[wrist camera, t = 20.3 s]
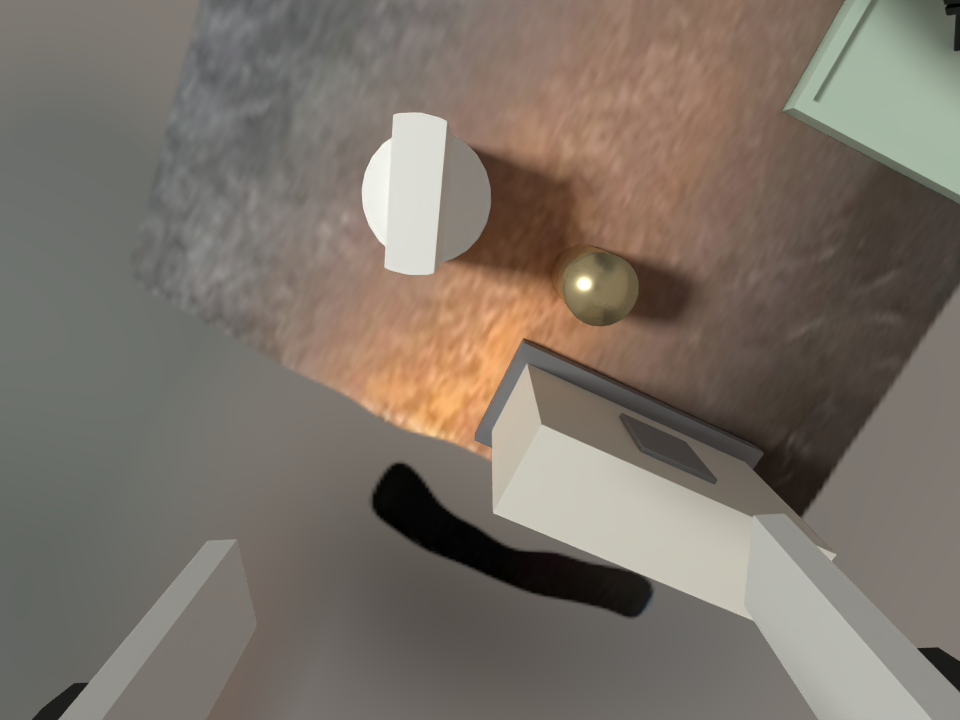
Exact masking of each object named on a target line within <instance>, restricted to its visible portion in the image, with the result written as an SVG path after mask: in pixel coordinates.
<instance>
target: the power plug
mask: <svg viewBox="0 0 960 720" xmlns="http://www.w3.org/2000/svg"><path fill="white" fill-rule="evenodd" d="M943 2H944V5H947V6H946V7H945V12H946V15H947V16H950V15H955V34H954V51H960V0H943Z"/></svg>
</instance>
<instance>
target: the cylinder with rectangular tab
mask: <svg viewBox="0 0 960 720" xmlns="http://www.w3.org/2000/svg"><path fill="white" fill-rule="evenodd" d="M362 199H363V209H364V212H365V215H366V218H367V221H368V224H369V226H370V228H371V229H372V231H373V232H374V234H375V235H376V237H377V239H378V240H379V241H380V242H381V243H382V244H383V245H384V246H385V247H386V249H385V266H384V267H385V268H387V269H389V270H391V271H395V272H399V273H403V274H407V275H429V274H432V273H434V272H435V271H436V270H437V268H438V267H439V266H440V264H441V263H442V262H444V261H448V260H451V259H454V258H455V257H457V256H459V255H460V254H462V253H464V252H465V251H467V250H468V249H469V248H470V247H471V246H472V245H473V244H474V243H475V242H476V240H477V239H478V238H479V237H480V235H481V233H482V231H483V229H484V227H485V226H486V224H487V220H488V216H489V212H490V208H491V187H490V183H489V180H488V176H487V172H486V170H485V168H484V166H483V164H482V162H481V161H480V159H479V157H478V155H477V154H476V153H475V152H474V151H473V150H472V149H471V148H470V147H469V146H468V145H467V144H466V143H465V142H464V141H462V140H461V139H459V138H457V137H456V136H454V134H453V132H452V130H451V128H450V126H449V124H448V122H447V121H445V120H443V119H442V118H439V117H435V116H431V115H428V114H424V113H398V114H395V115H393V130H392V138H391V139H389V140H388V141H386V142H385V143H383V145H382V146H381V147H380V148H379V149H378V151H377V152H376V153H375V154H374V155H373V157H372V158H371V161H370V163H369V165H368V167H367V169H366V172H365V175H364V181H363V187H362Z"/></svg>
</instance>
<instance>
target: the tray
mask: <svg viewBox="0 0 960 720" xmlns="http://www.w3.org/2000/svg"><path fill="white" fill-rule="evenodd" d="M946 6H947V5H944V2H943V0H845V1H844V3H843V5H842V7H841V8H840V10H839V12H838V14H837V15H836V17H835V19H834V21H833V22H832V24H831V26H830V28H829V29H828V31H827V33H826V35H825V36H824V38H823V40H822V42H821V44H820V45H819V47H818V49H817V51H816V52H815V54H814V56H813V58H812V59H811V61H810V63H809V65H808V66H807V68H806V70H805V72H804V73H803V75H802V77H801V79H800V81H799V82H798V84H797V86H796V88H795V89H794V91H793V93H792V95H791V96H790V98H789V100H788V102H787V103H786V105H785V107H784V109H783V110H782V111H783V112H784V113H786V114H788V115H790V116H792V117H794V118H796V119H798V120H800V121H802V122H804V123H805V124H807V125H809V126H811V127H813V128H815V129H817V130H819V131H821V132H823V133H825V134H826V135H828V136H830V137H832V138H834V139H836V140H838V141H840V142H842V143H844V144H846V145H848V146H849V147H851V148H853V149H855V150H857V151H859V152H861V153H863V154H865V155H867V156H869V157H870V158H872V159H874V160H876V161H878V162H880V163H882V164H884V165H886V166H888V167H890V168H891V169H893V170H895V171H897V172H899V173H901V174H903V175H905V176H907V177H909V178H911V179H912V180H914V181H916V182H918V183H920V184H922V185H924V186H926V187H928V188H930V189H932V190H934V191H935V192H937V193H939V194H941V195H943V196H945V197H947V198H949V199H951V200H953V201H955V202H956V203H958V204H960V51H954V34H955V15H950V16H947V15H946V12H945V7H946Z"/></svg>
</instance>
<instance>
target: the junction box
mask: <svg viewBox="0 0 960 720" xmlns="http://www.w3.org/2000/svg"><path fill="white" fill-rule="evenodd" d="M475 441H478V442H480V443H482V444H485V445H487V446H489V447H491V448H492V474H493V475H492V478H493V479H492V480H493V513H494V514H497V515H499V516H502V517H504V518H506V519H509V520H512V521H514V522H516V523H519V524H521V525H524V526H526V527H528V528H531V529H533V530H535V531H538V532H540V533H543V534H545V535H548V536H550V537H552V538H555V539H557V540H560V541H562V542H564V543H567V544H569V545H572V546H574V547H577V548H579V549H581V550H584V551H586V552H589V553H591V554H593V555H596V556H598V557H601V558H603V559H606V560H608V561H610V562H613V563H615V564H618V565H620V566H622V567H625V568H627V569H630V570H632V571H635V572H637V573H639V574H642V575H644V576H647V577H649V578H651V579H654V580H656V581H659V582H661V583H664V584H666V585H668V586H671V587H673V588H676V589H678V590H680V591H683V592H685V593H688V594H690V595H693V596H695V597H697V598H700V599H702V600H705V601H707V602H709V603H712V604H714V605H717V606H719V607H721V608H724V609H727V610H729V611H731V612H734V613H736V614H738V615H741V616H743V617H746V618H748V619H751V620H753V618H752V617H751V615H750V614H749V612H748V611H747V609H746V608H745V606H744V599H745V590H746V580H747V571H748V562H749V553H750V543H751V534H752V525H753V516H754V515H764V514H786V515H787V516H788V517H789V518H790V519H791V521H792V522H793V523H794V524H795V525H796V526H797V527H798V528H799V529H800V530H801V531H802V532H803V533H804V534H805V535H806V536H807V537H808V538H809V539H810V540H811V541H812V542H813V543H814V544H815V545H816V546H817V547H818V548H819V549H820V550H821V551H822V552H823V553H824V554H825V555H826V556H827V557H828V558H829V559H830V560H831V561H832V560H833V558H834V557H835V556H836V553H835V552H834V551H833V550H832V549H831V548H830V547H829V546H828V545H827V544H826V543H825V542H824V541H822V539H821V538H820V537H819V536H818V535H817V534H816V533H815V532H814V531H813V530H812V529H811V528H810V527H809V526H808V525H807V524H806V523H805V522H804V521H803V520H802V519H801V518H800V517H799V516H798V515H797V514H796V513H795V512H794V511H793V510H792V509H791V508H790V507H789V506H788V505H787V504H786V503H785V502H784V501H783V500H782V499H781V498H780V497H779V496H778V495H777V494H776V493H775V492H774V491H773V490H772V489H771V488H770V487H769V486H768V485H767V484H766V483H765V482H764V481H763V480H762V479H761V478H760V477H759V476H758V475H757V474H756V473H755V472H754V471H753V468H754V467H755V466H756V464H757V463H758V461H759V460H760V459H761V457H762V456H763V454H764V452H763V451H761V450H760V449H759V448H758V447H757V446H756V445H754V444H752V443H749V442H747V441H745V440H743V439H741V438H739V437H736V436H734V435H732V434H730V433H728V432H725V431H723V430H721V429H719V428H717V427H715V426H712V425H710V424H708V423H706V422H704V421H702V420H699V419H697V418H695V417H693V416H691V415H688V414H686V413H684V412H682V411H680V410H678V409H675V408H673V407H671V406H669V405H667V404H665V403H662V402H660V401H658V400H656V399H654V398H652V397H649V396H647V395H645V394H643V393H641V392H638V391H636V390H634V389H632V388H630V387H628V386H625V385H623V384H621V383H619V382H617V381H615V380H612V379H610V378H608V377H606V376H604V375H601V374H599V373H597V372H595V371H593V370H591V369H588V368H586V367H584V366H582V365H580V364H578V363H575V362H573V361H571V360H569V359H567V358H564V357H562V356H560V355H558V354H556V353H554V352H551V351H549V350H547V349H545V348H543V347H541V346H538V345H536V344H534V343H532V342H530V341H528V340H525V339H523V340H522V342H521V344H520V346H519V348H518V350H517V351H516V353H515V355H514V357H513V359H512V361H511V363H510V365H509V367H508V369H507V371H506V373H505V375H504V377H503V379H502V381H501V383H500V385H499V387H498V389H497V391H496V393H495V395H494V397H493V399H492V401H491V403H490V405H489V406H488V408H487V410H486V412H485V414H484V416H483V418H482V420H481V422H480V424H479V426H478V428H477V430H476V432H475ZM753 621H754V620H753Z"/></svg>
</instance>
